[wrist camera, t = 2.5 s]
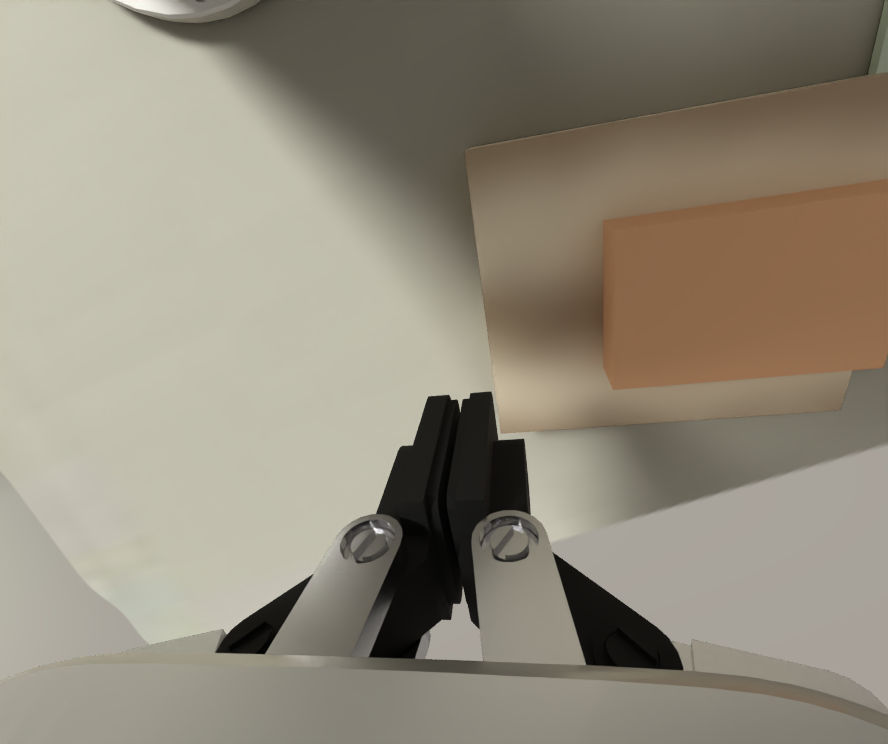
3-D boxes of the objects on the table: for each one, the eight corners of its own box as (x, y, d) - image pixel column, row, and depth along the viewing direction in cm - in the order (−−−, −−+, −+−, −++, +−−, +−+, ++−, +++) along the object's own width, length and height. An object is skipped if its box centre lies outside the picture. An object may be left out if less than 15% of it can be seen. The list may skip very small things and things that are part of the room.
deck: (469, 147, 18) (464, 151, 15) (867, 74, 15) (941, 64, 13) (500, 399, 23) (500, 433, 21) (798, 374, 21) (840, 410, 18)
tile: (603, 220, 16) (614, 230, 14) (895, 177, 14) (943, 184, 13) (603, 367, 19) (612, 389, 17) (848, 345, 17) (883, 367, 16)
